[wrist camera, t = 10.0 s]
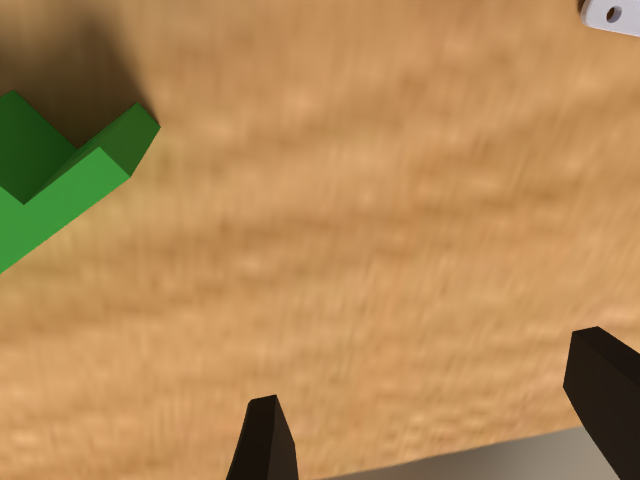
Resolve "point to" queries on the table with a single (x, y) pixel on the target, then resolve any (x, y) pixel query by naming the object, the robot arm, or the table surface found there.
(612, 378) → the robot arm
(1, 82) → the table surface
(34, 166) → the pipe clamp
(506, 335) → the table surface
